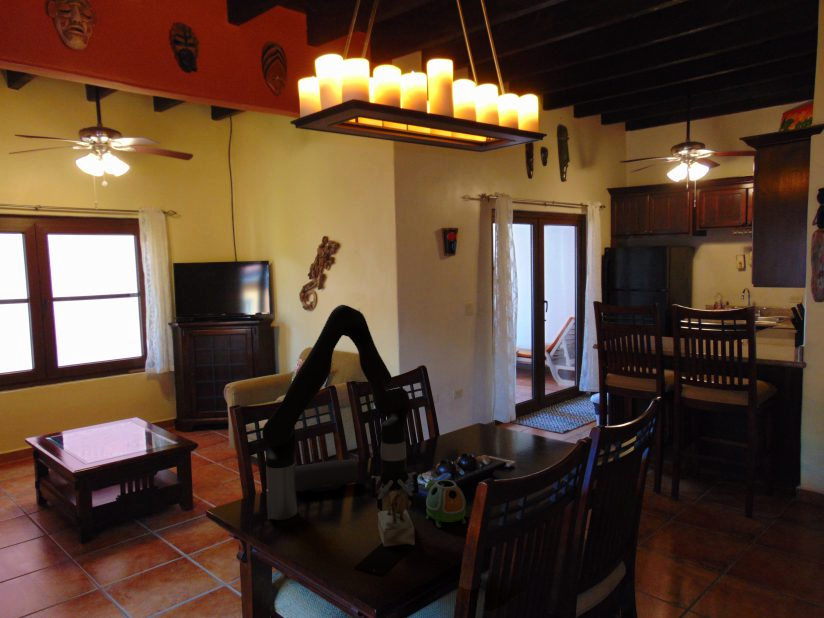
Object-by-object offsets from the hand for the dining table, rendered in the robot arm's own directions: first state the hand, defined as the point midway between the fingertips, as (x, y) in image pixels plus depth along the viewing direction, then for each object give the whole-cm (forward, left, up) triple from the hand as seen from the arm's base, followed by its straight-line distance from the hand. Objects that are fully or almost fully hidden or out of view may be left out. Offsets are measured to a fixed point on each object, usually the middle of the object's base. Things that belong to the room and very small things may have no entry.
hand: (395, 508), depth 174 cm
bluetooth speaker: (-19, +43, -9) cm, 48 cm away
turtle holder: (+17, +9, -9) cm, 21 cm away
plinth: (0, 0, -9) cm, 9 cm away
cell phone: (-5, -12, -9) cm, 16 cm away
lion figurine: (+1, 0, -3) cm, 3 cm away
